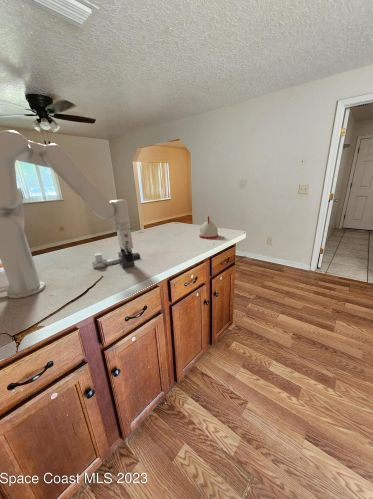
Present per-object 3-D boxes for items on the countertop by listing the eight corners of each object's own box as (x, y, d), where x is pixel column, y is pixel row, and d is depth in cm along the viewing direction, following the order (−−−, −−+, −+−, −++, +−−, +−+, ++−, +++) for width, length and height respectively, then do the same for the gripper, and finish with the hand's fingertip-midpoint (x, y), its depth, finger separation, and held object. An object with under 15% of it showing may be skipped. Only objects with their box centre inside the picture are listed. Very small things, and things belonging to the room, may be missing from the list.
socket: (123, 268, 102) (121, 255, 100) (120, 264, 107) (118, 252, 105) (134, 266, 105) (133, 253, 103) (131, 262, 110) (129, 250, 108)
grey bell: (217, 234, 160) (218, 214, 155) (218, 239, 147) (218, 218, 142) (200, 234, 162) (199, 215, 157) (198, 239, 149) (198, 218, 144)
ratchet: (94, 269, 103) (91, 257, 101) (92, 265, 108) (89, 253, 106) (141, 259, 114) (139, 248, 112) (137, 255, 120) (136, 245, 118)
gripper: (135, 227, 94) (139, 261, 100) (125, 221, 108) (129, 252, 114) (118, 230, 91) (124, 265, 96) (110, 224, 105) (116, 255, 111)
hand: (127, 258), depth 105 cm, fingers open, 9 cm apart
